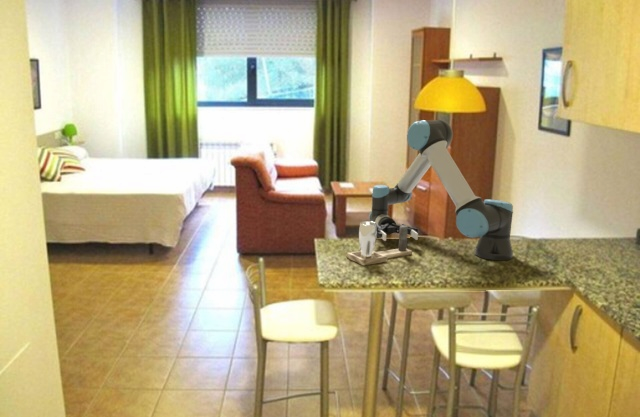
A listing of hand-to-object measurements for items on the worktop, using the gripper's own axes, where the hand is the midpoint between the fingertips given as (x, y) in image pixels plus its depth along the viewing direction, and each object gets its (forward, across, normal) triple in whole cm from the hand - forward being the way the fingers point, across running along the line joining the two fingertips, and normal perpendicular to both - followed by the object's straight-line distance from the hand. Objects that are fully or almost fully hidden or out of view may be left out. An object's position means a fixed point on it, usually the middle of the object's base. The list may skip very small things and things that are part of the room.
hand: (401, 237), depth 246 cm
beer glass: (+7, +16, -7) cm, 19 cm away
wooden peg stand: (+5, +10, -7) cm, 13 cm away
